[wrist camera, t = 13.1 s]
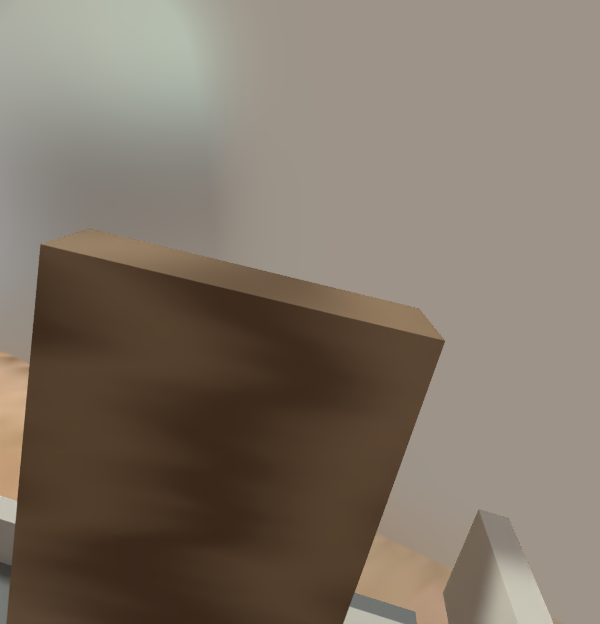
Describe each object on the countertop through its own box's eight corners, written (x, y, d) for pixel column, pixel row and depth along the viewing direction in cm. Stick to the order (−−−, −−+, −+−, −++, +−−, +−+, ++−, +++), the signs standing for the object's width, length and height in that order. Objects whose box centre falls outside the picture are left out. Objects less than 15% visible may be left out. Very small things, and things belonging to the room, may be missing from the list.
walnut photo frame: (-2, 704, 14) (40, 243, 10) (43, 623, 17) (91, 227, 13) (295, 755, 15) (445, 340, 11) (296, 670, 17) (417, 307, 13)
